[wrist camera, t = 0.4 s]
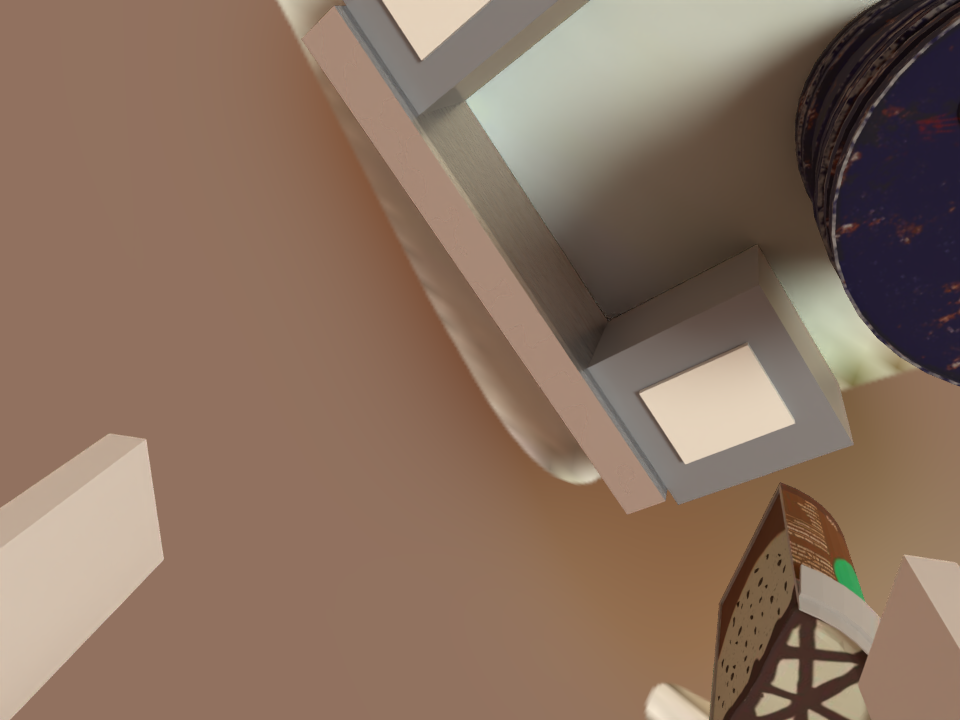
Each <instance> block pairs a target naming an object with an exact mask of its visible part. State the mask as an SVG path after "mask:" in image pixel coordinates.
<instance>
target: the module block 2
mask: <svg viewBox="0 0 960 720" xmlns="http://www.w3.org/2000/svg"><path fill="white" fill-rule="evenodd" d="M588 370H589V371H590V373H591V374H592V376H593V377H594V379H595V380H596V382H597V383H598V385H599V386H600V388H601V389H602V391H603V392H604V394H605V395H606V397H607V398H608V400H609V401H610V403H611V404H612V406H613V407H614V409H615V410H616V412H617V413H618V415H619V416H620V418H621V419H622V421H623V422H624V424H625V425H626V427H627V428H628V430H629V431H630V433H631V434H632V436H633V437H634V439H635V440H636V442H637V443H638V445H639V446H640V448H641V449H642V451H643V452H644V454H645V455H646V457H647V458H648V460H649V461H650V463H651V464H652V466H653V467H654V469H655V471H656V472H657V474H658V475H659V477H660V478H661V480H662V481H663V483H664V484H665V486H666V487H667V489H668V490H669V491H670V493H671V495H672V496H673V498H674V499H675V501H676V502H677V504H678V505H679V504H682V503H685V502H688V501H691V500H694V499H697V498H700V497H703V496H706V495H708V494H711V493H714V492H717V491H720V490H723V489H726V488H729V487H732V486H735V485H738V484H740V483H743V482H746V481H749V480H752V479H755V478H758V477H761V476H764V475H767V474H770V473H773V472H775V471H778V470H781V469H784V468H787V467H790V466H793V465H796V464H799V463H802V462H805V461H808V460H810V459H813V458H816V457H819V456H822V455H825V454H828V453H831V452H834V451H837V450H839V449H842V448H845V447H848V446H851V445H853V440H852V436H851V432H850V427H849V423H848V419H847V415H846V411H845V408H844V403H843V399H842V395H841V391H840V387H839V384H838V382H837V380H836V378H835V377H834V375H833V373H832V372H831V370H830V368H829V366H828V365H827V363H826V361H825V360H824V358H823V356H822V354H821V353H820V351H819V349H818V348H817V346H816V344H815V342H814V341H813V339H812V337H811V336H810V334H809V332H808V330H807V329H806V327H805V325H804V323H803V322H802V320H801V318H800V317H799V315H798V313H797V311H796V310H795V308H794V306H793V305H792V303H791V301H790V299H789V298H788V296H787V294H786V293H785V291H784V289H783V287H782V286H781V284H780V282H779V281H778V279H777V277H776V275H775V274H774V272H773V270H772V269H771V267H770V265H769V263H768V262H767V260H766V258H765V257H764V255H763V253H762V251H761V250H760V248H759V246H758V245H755V246H753V247H751V248H749V249H747V250H745V251H743V252H741V253H739V254H738V255H736V256H734V257H732V258H730V259H728V260H726V261H724V262H722V263H720V264H718V265H716V266H714V267H712V268H711V269H709V270H707V271H705V272H703V273H701V274H699V275H697V276H695V277H693V278H691V279H689V280H687V281H685V282H684V283H682V284H680V285H678V286H676V287H674V288H672V289H670V290H668V291H666V292H664V293H662V294H660V295H658V296H657V297H655V298H653V299H651V300H649V301H647V302H645V303H643V304H641V305H639V306H637V307H635V308H633V309H631V310H630V311H628V312H626V313H624V314H622V315H620V316H618V317H616V318H614V319H612V320H610V321H608V323H607V325H606V327H605V330H604V332H603V334H602V336H601V339H600V341H599V343H598V345H597V348H596V350H595V352H594V354H593V357H592V359H591V361H590V363H589V366H588Z"/></svg>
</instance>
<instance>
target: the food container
mask: <svg viewBox="0 0 960 720" xmlns="http://www.w3.org/2000/svg"><path fill="white" fill-rule="evenodd" d="M880 620H881V619H880V617H879V616H878V615H877V614H876V613H875V612H874V611H873V610H872V609H871V608H870V607H869V606H868V605H867V604H866V603H865V600H864V597H863V594H862V591H861V588H860V585H859V582H858V579H857V576H856V572H855V569H854V566H853V563H852V560H851V557H850V555H849V551H848V548H847V545H846V542H845V539H844V536H843V534H842V532H841V530H840V528H839V526H838V524H837V522H836V521H835V520H834V518H833V517H832V516H831V514H830V513H829V512H828V511H827V510H826V509H825V508H824V507H823V506H822V505H820V504H819V503H818V502H817V501H815V500H814V499H813V498H811V497H810V496H808V495H806V494H805V493H803V492H801V491H799V490H797V489H796V488H793V487H790V486H788V485H785V484H783V483H779V485H778V487H777V489H776V491H775V493H774V495H773V497H772V499H771V501H770V504H769V505H768V507H767V509H766V511H765V513H764V515H763V517H762V519H761V521H760V523H759V525H758V527H757V529H756V531H755V533H754V535H753V537H752V539H751V541H750V543H749V545H748V547H747V549H746V551H745V553H744V555H743V557H742V559H741V561H740V563H739V565H738V567H737V569H736V571H735V573H734V575H733V577H732V579H731V581H730V583H729V585H728V587H727V589H726V591H725V593H724V595H723V597H722V599H721V601H720V603H719V612H718V624H717V636H716V647H715V660H714V670H713V682H712V694H711V705H710V716H709V720H871V718H870V715H869V713H868V710H867V708H866V705H865V702H864V700H863V697H862V695H861V692H860V690H859V687H858V683H859V680H860V677H861V674H862V671H863V668H864V666H865V663H866V660H867V657H868V654H869V651H870V649H871V646H872V643H873V640H874V637H875V634H876V631H877V629H878V626H879V623H880Z"/></svg>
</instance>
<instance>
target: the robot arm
mask: <svg viewBox="0 0 960 720" xmlns="http://www.w3.org/2000/svg"><path fill="white" fill-rule="evenodd" d="M163 560H164V558H163V551H162V544H161V537H160V530H159V523H158V517H157V510H156V503H155V496H154V489H153V482H152V475H151V469H150V462H149V456H148V449H147V441H146V439H143V438H136V437H129V436H123V435H116V434H110V433H109V434H108V435H106V436H105V437H103V438H102V439H100V440H99V441H97V442H96V443H94V444H93V445H91V446H90V447H89V448H87V449H86V450H84V451H83V452H81V453H80V454H78V455H77V456H75V457H74V458H72V459H71V460H70V461H68V462H67V463H65V464H64V465H62V466H61V467H59V468H58V469H56V470H55V471H54V472H52V473H51V474H49V475H48V476H46V477H45V478H43V479H42V480H41V481H39V482H38V483H36V484H35V485H33V486H32V487H30V488H29V489H27V490H26V491H24V492H23V493H21V494H20V495H19V496H17V497H16V498H14V499H13V500H11V501H10V502H8V503H7V504H5V505H4V506H3V507H1V508H0V720H10V719H11V718H12V717H13V716H14V715H15V714H16V713H17V712H18V711H19V710H20V709H21V708H22V707H23V706H24V705H25V704H26V703H27V701H28V700H29V699H30V698H31V697H32V696H33V695H34V694H35V693H36V692H37V691H38V690H39V689H40V688H41V687H42V686H43V685H44V684H45V683H46V682H47V681H48V680H49V679H50V678H51V677H52V675H53V674H54V673H55V672H56V671H57V670H58V669H59V668H60V667H61V666H62V665H63V664H64V663H65V662H66V661H67V660H68V659H69V658H70V657H71V655H72V654H74V652H75V651H76V650H77V649H78V648H79V647H80V646H81V645H82V644H83V643H84V642H85V641H86V640H87V639H88V638H89V637H90V636H91V635H92V634H93V633H94V632H95V630H96V629H98V628H99V626H100V625H101V624H102V623H103V622H104V621H105V620H106V619H107V618H108V617H109V616H110V615H111V614H112V613H113V612H114V611H115V610H116V609H117V608H118V607H119V606H120V605H121V603H123V601H124V600H125V599H126V598H127V597H128V596H129V595H130V594H131V593H132V592H133V591H134V590H135V589H136V588H137V587H138V586H139V585H140V584H141V583H142V582H143V581H144V580H145V579H146V578H147V576H148V575H149V574H150V573H151V572H152V571H153V570H154V569H155V568H156V567H157V566H158V565H159V564H160V563H161V562H162V561H163ZM858 687H859V690H860V692H861V695H862V697H863V700H864V702H865V705H866V708H867V710H868V713H869V715H870V718H871V720H960V567H959V566H958V564H957V563H956V562H950V561H943V560H937V559H930V558H924V557H917V556H910V555H903V557H902V560H901V563H900V566H899V569H898V572H897V575H896V577H895V580H894V583H893V586H892V589H891V592H890V594H889V598H888V600H887V603H886V606H885V609H884V612H883V614H882V617H881V620H880V623H879V626H878V629H877V631H876V634H875V637H874V640H873V643H872V646H871V649H870V651H869V654H868V657H867V660H866V663H865V666H864V668H863V671H862V674H861V677H860V680H859V683H858Z"/></svg>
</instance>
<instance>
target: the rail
mask: <svg viewBox="0 0 960 720" xmlns="http://www.w3.org/2000/svg"><path fill="white" fill-rule="evenodd" d="M302 41H303V42H304V44H305V45H306V47H307V48H308V50H309V51H310V52H311V54H312V55H313V57H314V58H315V60H316V61H317V63H318V64H319V66H320V67H321V69H322V70H323V71H324V73H325V74H326V76H327V77H328V79H329V80H330V82H331V83H332V85H333V86H334V87H335V89H336V90H337V92H338V93H339V95H340V96H341V98H342V99H343V101H344V102H345V104H346V105H347V106H348V108H349V109H350V111H351V112H352V114H353V115H354V117H355V118H356V120H357V121H358V123H359V124H360V125H361V127H362V128H363V130H364V131H365V133H366V134H367V136H368V137H369V139H370V140H371V141H372V143H373V144H374V146H375V147H376V149H377V150H378V152H379V153H380V155H381V156H382V158H383V159H384V160H385V162H386V163H387V165H388V166H389V168H390V169H391V171H392V172H393V174H394V175H395V176H396V178H397V179H398V181H399V182H400V184H401V185H402V187H403V188H404V190H405V191H406V193H407V194H408V195H409V197H410V198H411V200H412V201H413V203H414V204H415V206H416V207H417V209H418V210H419V212H420V213H421V214H422V216H423V217H424V219H425V220H426V222H427V223H428V225H429V226H430V228H431V229H432V230H433V232H434V233H435V235H436V236H437V238H438V239H439V241H440V242H441V244H442V245H443V247H444V248H445V249H446V251H447V252H448V254H449V255H450V257H451V258H452V260H453V261H454V263H455V264H456V265H457V267H458V268H459V270H460V271H461V273H462V274H463V276H464V277H465V279H466V280H467V282H468V283H469V284H470V286H471V287H472V289H473V290H474V292H475V293H476V295H477V296H478V298H479V299H480V301H481V302H482V303H483V305H484V306H485V308H486V309H487V311H488V312H489V314H490V315H491V317H492V318H493V319H494V321H495V322H496V324H497V325H498V327H499V328H500V330H501V331H502V333H503V334H504V336H505V337H506V338H507V340H508V341H509V343H510V344H511V346H512V347H513V349H514V350H515V352H516V353H517V355H518V356H519V357H520V359H521V360H522V362H523V363H524V365H525V366H526V368H527V369H528V371H529V372H530V373H531V375H532V376H533V378H534V379H535V381H536V382H537V384H538V385H539V387H540V388H541V390H542V391H543V392H544V394H545V395H546V397H547V398H548V400H549V401H550V403H551V404H552V406H553V407H554V408H555V410H556V411H557V413H558V414H559V416H560V417H561V419H562V420H563V422H564V423H565V425H566V426H567V427H568V429H569V430H570V432H571V433H572V435H573V436H574V438H575V439H576V441H577V442H578V444H579V445H580V446H581V448H582V449H583V451H584V452H585V454H586V455H587V457H588V458H589V460H590V461H591V462H592V464H593V465H594V467H595V468H596V470H597V471H598V473H599V474H600V476H601V477H602V478H603V480H604V481H605V483H606V484H607V486H608V487H609V489H610V490H611V491H612V493H613V494H614V496H615V497H616V499H617V500H618V502H619V503H620V505H621V506H622V508H623V509H624V511H625V512H626V514H630V513H633V512H636V511H639V510H642V509H645V508H647V507H650V506H653V505H656V504H659V503H662V502H665V500H666V493H667V487H666V486H665V484H664V483H663V481H662V480H661V478H660V477H659V475H658V474H657V472H656V471H655V469H654V467H653V466H652V464H651V463H650V461H649V460H648V458H647V457H646V455H645V454H644V452H643V451H642V449H641V448H640V446H639V445H638V443H637V442H636V440H635V439H634V437H633V436H632V434H631V433H630V431H629V430H628V428H627V427H626V425H625V424H624V422H623V421H622V419H621V418H620V416H619V415H618V413H617V412H616V410H615V409H614V407H613V406H612V404H611V403H610V401H609V400H608V398H607V397H606V395H605V394H604V392H603V391H602V389H601V388H600V386H599V385H598V383H597V382H596V380H595V379H594V377H593V376H592V374H591V373H590V371H589V370H588V366H589V363H590V361H591V359H592V357H593V354H594V352H595V350H596V348H597V345H598V343H599V341H600V339H601V336H602V334H603V332H604V330H605V327H606V325H607V323H608V321H607V319H606V318H605V316H604V315H603V313H602V311H601V310H600V308H599V307H598V305H597V304H596V302H595V301H594V299H593V298H592V296H591V294H590V293H589V291H588V290H587V288H586V287H585V285H584V284H583V282H582V281H581V279H580V277H579V276H578V274H577V273H576V271H575V270H574V268H573V267H572V265H571V264H570V262H569V261H568V259H567V257H566V256H565V254H564V253H563V251H562V250H561V248H560V247H559V245H558V244H557V242H556V240H555V239H554V237H553V236H552V234H551V233H550V231H549V230H548V228H547V227H546V225H545V223H544V222H543V220H542V219H541V217H540V216H539V214H538V213H537V211H536V210H535V208H534V206H533V205H532V203H531V202H530V200H529V199H528V197H527V196H526V194H525V193H524V191H523V189H522V188H521V186H520V185H519V183H518V182H517V180H516V179H515V177H514V176H513V174H512V172H511V171H510V169H509V168H508V166H507V165H506V163H505V162H504V160H503V159H502V157H501V155H500V154H499V152H498V151H497V149H496V148H495V146H494V145H493V143H492V142H491V140H490V139H489V137H488V135H487V134H486V132H485V131H484V129H483V128H482V126H481V125H480V123H479V122H478V120H477V118H476V117H475V115H474V114H473V112H472V111H471V109H470V108H469V106H468V105H467V103H466V101H462V102H459V103H455V104H452V105H449V106H446V107H443V108H440V109H437V110H434V111H430V112H427V113H424V114H421V115H419V114H418V112H417V111H416V109H415V108H414V106H413V105H412V103H411V102H410V100H409V99H408V97H407V96H406V94H405V93H404V91H403V90H402V88H401V87H400V85H399V84H398V82H397V81H396V79H395V78H394V76H393V75H392V73H391V72H390V70H389V69H388V67H387V66H386V64H385V63H384V61H383V60H382V58H381V57H380V55H379V54H378V52H377V51H376V49H375V48H374V46H373V45H372V43H371V42H370V40H369V39H368V37H367V36H366V34H365V33H364V31H363V30H362V28H361V27H360V25H359V24H358V22H357V21H356V19H355V18H354V16H353V15H352V13H351V12H350V10H349V9H348V7H347V6H333V7H332V8H331V9H330V10H329V11H328V12H327V13H326V14H325V15H324V16H323V17H322V18H321V19H320V20H319V21H318V22H317V24H316V25H315V26H314V27H313V28H312V29H311V30H310V31H309V32H308V33H307V34H306V35H305V36H304V37H303V38H302Z"/></svg>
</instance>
